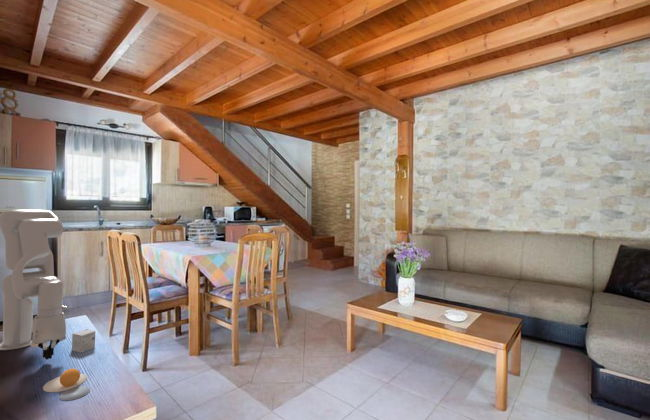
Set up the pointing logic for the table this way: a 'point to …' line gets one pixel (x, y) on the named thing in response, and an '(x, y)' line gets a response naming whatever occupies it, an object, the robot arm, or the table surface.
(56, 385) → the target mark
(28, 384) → the table surface
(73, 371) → the ball
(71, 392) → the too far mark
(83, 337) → the skincare box
